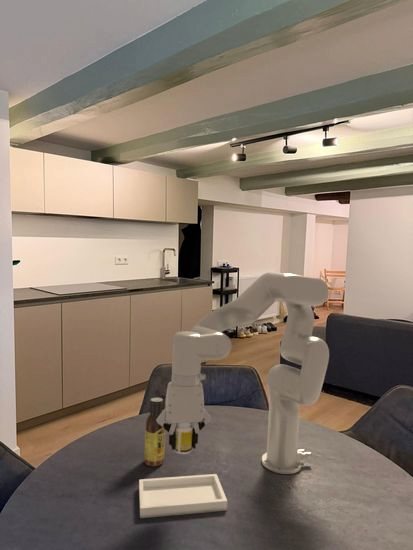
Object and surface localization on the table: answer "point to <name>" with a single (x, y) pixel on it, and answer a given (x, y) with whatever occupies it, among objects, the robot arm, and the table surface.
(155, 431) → the sauce bottle
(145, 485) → the tray
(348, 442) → the table surface
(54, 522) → the table surface
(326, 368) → the robot arm
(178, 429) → the supplement bottle
